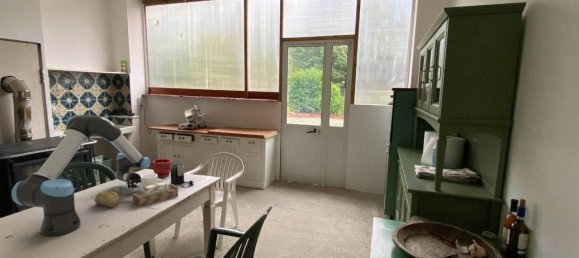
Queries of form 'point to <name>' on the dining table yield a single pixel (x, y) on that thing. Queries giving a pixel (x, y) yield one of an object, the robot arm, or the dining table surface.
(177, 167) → the milk frother
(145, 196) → the sage painted offcut
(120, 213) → the dining table surface
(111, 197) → the bread roll
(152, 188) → the short birch offcut
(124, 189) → the slate mat
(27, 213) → the dining table surface
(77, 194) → the dining table surface
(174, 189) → the offcut rack
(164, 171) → the plant pot
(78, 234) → the dining table surface
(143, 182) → the foam cup
